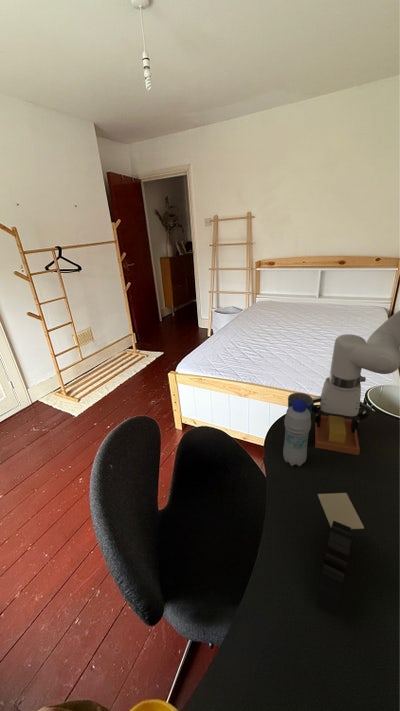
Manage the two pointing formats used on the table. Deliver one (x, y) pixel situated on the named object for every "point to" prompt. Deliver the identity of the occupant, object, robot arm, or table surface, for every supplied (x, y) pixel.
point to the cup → (303, 397)
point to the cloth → (340, 510)
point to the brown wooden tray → (348, 447)
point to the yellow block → (336, 429)
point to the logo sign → (334, 569)
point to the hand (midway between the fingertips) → (335, 427)
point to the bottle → (296, 433)
